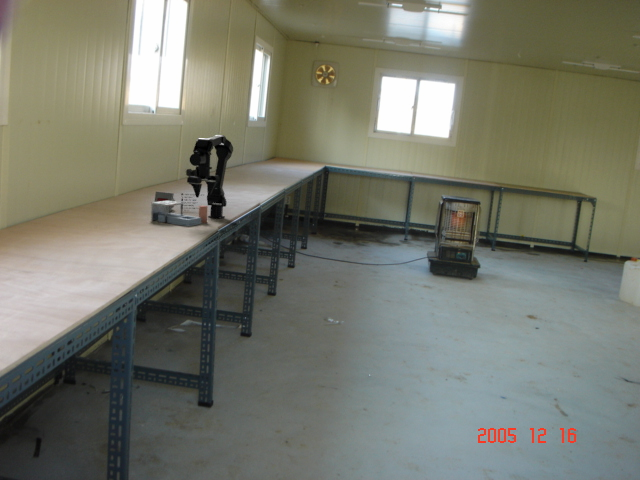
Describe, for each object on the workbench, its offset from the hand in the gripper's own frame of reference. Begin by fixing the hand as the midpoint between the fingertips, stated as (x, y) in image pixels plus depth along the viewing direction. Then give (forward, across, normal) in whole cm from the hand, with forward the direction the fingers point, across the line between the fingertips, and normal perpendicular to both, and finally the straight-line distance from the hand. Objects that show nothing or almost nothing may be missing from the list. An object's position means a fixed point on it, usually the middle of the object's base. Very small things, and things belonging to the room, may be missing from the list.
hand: (203, 196), depth 286 cm
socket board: (+13, +9, -7) cm, 17 cm away
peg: (+13, 0, 0) cm, 13 cm away
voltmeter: (+13, -18, -30) cm, 38 cm away
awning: (+13, +9, -15) cm, 21 cm away
